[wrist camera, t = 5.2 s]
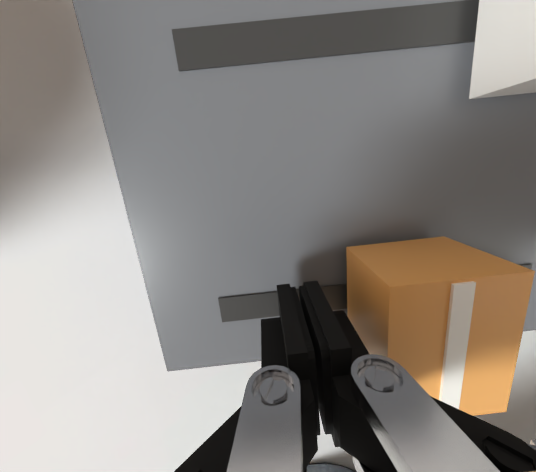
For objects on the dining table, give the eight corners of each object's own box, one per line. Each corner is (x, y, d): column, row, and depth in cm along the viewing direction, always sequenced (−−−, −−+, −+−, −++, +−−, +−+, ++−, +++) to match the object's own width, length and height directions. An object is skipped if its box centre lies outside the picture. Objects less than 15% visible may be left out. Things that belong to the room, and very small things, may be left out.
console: (641, -53, 10) (762, -121, 8) (558, 295, 15) (620, 321, 12) (106, -1, 10) (56, -55, 8) (182, 337, 15) (166, 372, 12)
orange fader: (443, 236, 10) (538, 272, 7) (434, 340, 12) (509, 414, 8) (346, 246, 10) (391, 288, 7) (347, 349, 12) (386, 429, 8)
